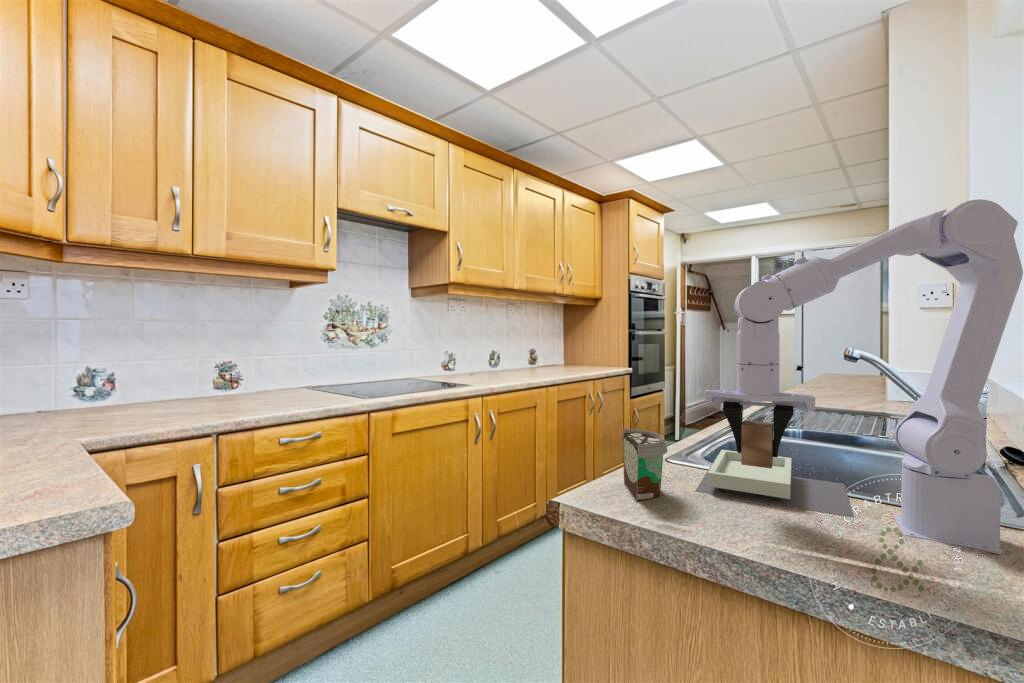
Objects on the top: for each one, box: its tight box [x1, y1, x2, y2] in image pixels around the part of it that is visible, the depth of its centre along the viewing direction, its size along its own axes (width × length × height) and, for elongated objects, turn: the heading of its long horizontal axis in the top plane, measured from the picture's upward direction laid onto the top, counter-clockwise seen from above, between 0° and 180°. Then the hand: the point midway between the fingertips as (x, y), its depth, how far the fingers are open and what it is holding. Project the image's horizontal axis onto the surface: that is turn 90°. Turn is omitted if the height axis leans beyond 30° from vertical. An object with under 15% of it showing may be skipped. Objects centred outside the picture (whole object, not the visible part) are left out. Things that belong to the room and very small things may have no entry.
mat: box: [694, 465, 855, 519], centre depth 81 cm, size 22×17×1 cm
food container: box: [621, 428, 668, 504], centre depth 80 cm, size 12×6×10 cm, turn 179°
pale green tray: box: [706, 449, 792, 501], centre depth 82 cm, size 12×17×4 cm
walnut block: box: [741, 419, 774, 469], centre depth 70 cm, size 4×4×6 cm
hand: (757, 453), depth 70 cm, fingers closed on walnut block, 4 cm apart
